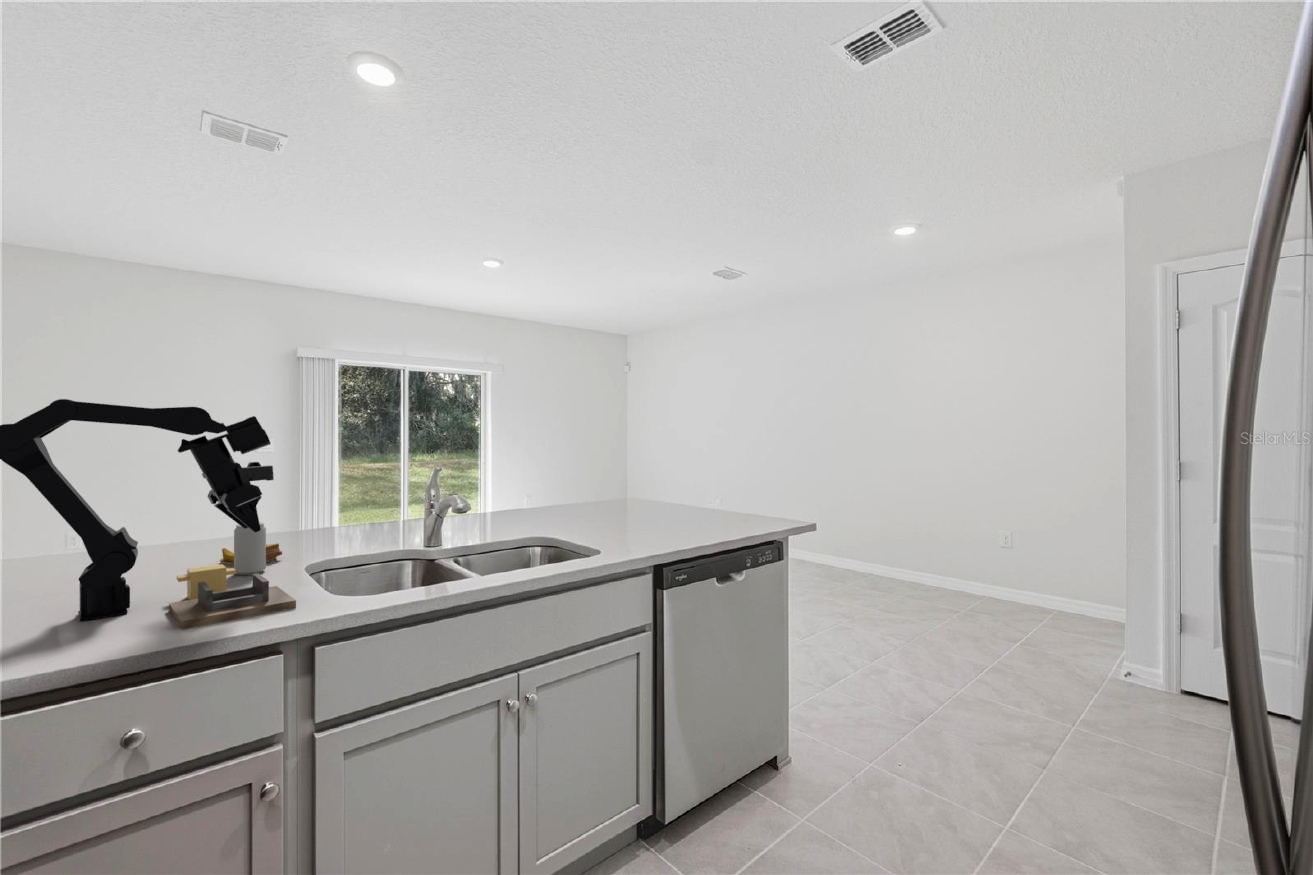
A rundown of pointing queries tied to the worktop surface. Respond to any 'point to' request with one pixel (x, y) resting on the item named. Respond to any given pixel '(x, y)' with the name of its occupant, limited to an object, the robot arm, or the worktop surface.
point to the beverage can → (249, 550)
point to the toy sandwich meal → (271, 554)
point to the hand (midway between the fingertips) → (252, 529)
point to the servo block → (206, 578)
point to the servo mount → (230, 604)
